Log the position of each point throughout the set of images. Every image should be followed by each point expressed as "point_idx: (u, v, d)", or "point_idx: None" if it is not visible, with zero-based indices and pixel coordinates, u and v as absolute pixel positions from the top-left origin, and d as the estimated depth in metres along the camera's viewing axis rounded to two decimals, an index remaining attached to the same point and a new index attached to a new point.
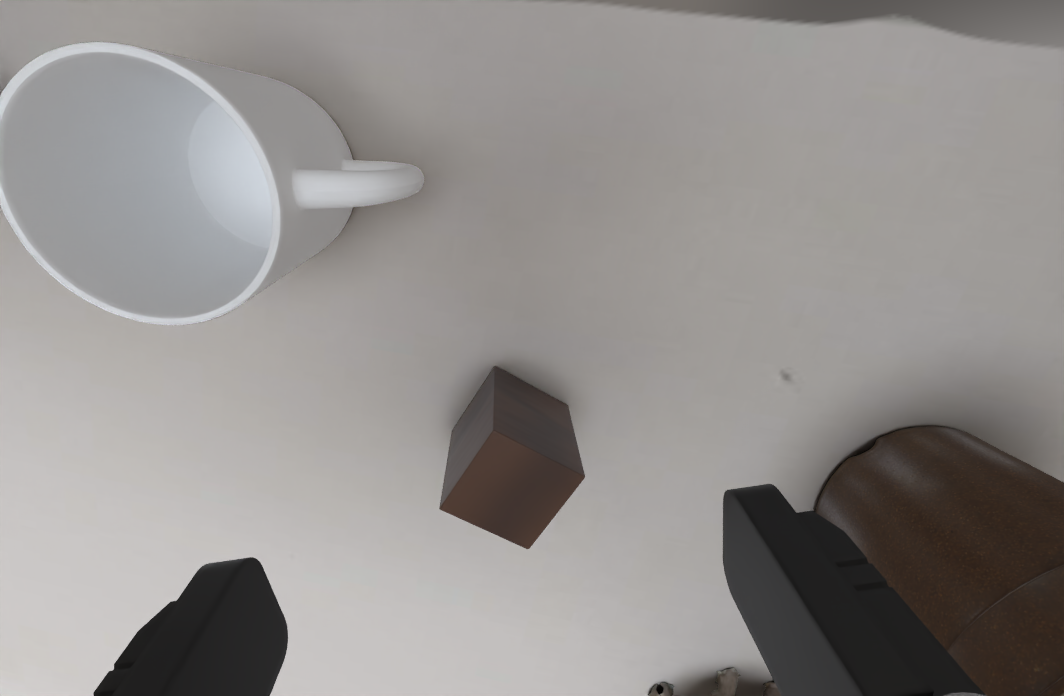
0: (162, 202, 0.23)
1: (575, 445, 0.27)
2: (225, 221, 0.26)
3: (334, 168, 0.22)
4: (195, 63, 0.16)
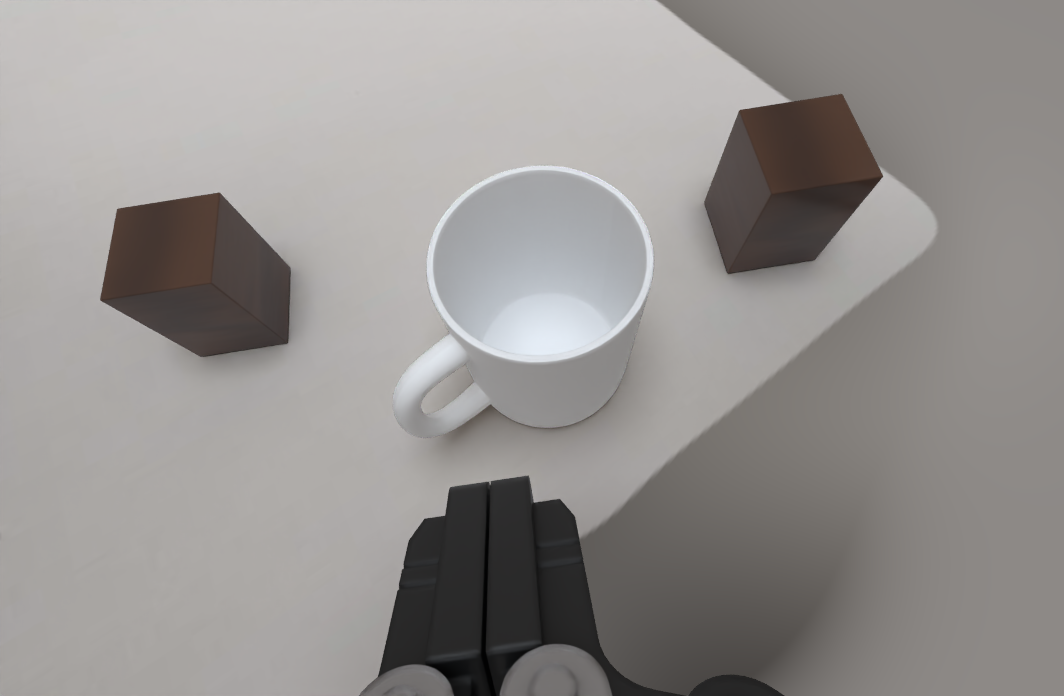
0: (587, 276, 0.27)
1: (145, 323, 0.26)
2: (555, 297, 0.30)
3: (482, 388, 0.24)
4: (573, 373, 0.19)
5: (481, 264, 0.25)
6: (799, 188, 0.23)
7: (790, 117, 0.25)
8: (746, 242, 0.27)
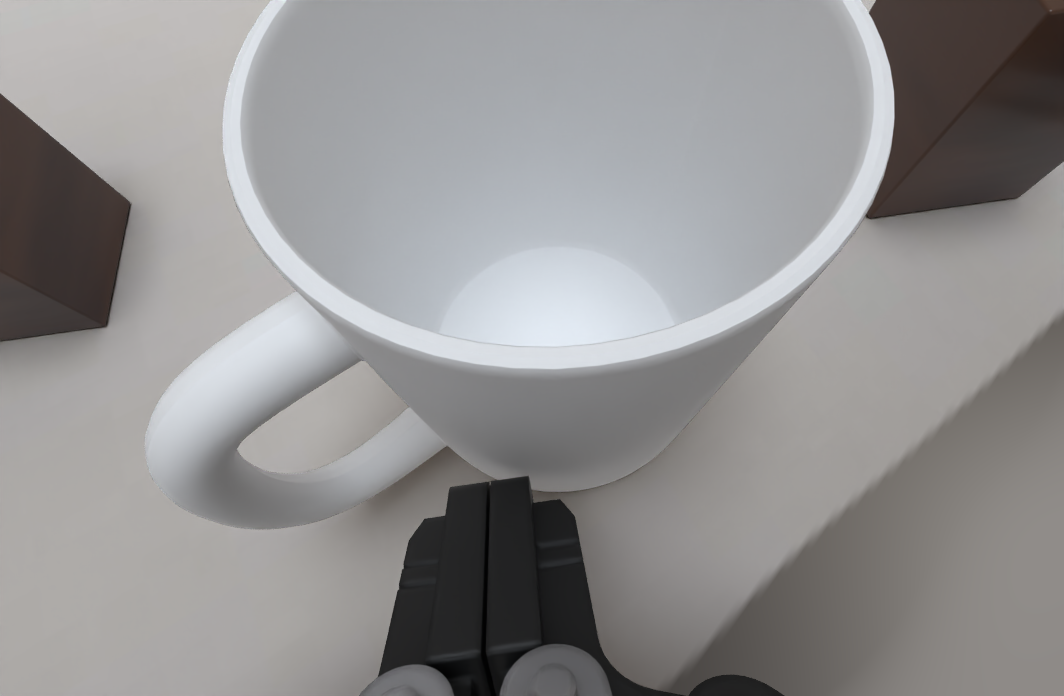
0: (634, 207, 0.14)
1: None
2: (570, 254, 0.17)
3: None
4: (642, 402, 0.07)
5: (426, 165, 0.12)
6: None
7: None
8: (932, 147, 0.14)
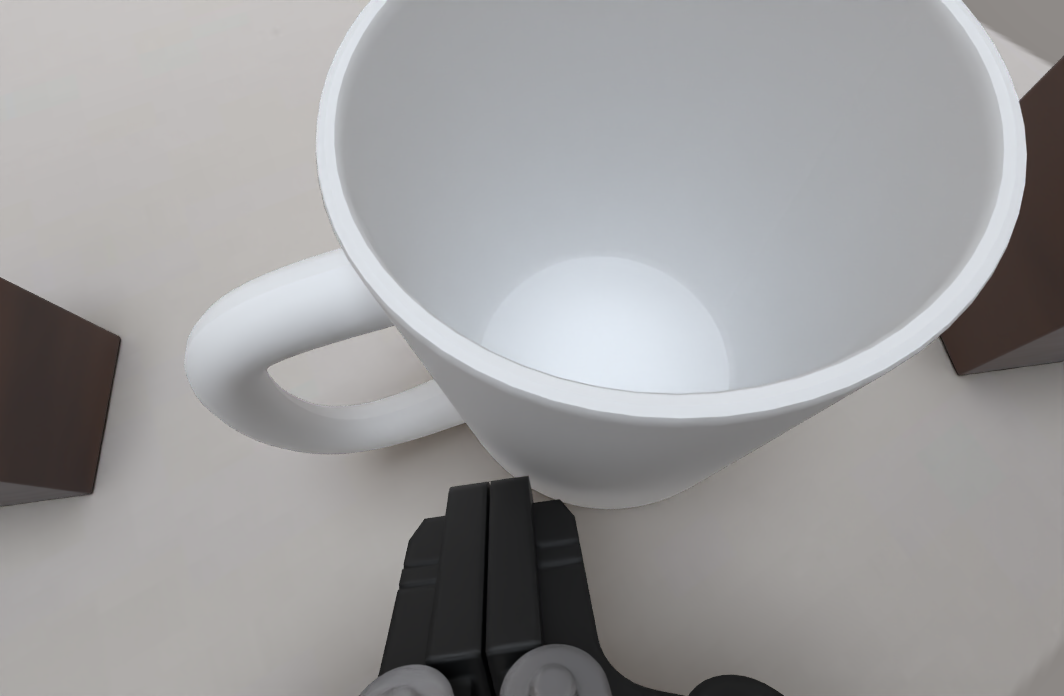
0: (722, 245, 0.14)
1: None
2: (646, 272, 0.17)
3: None
4: (642, 453, 0.06)
5: (524, 150, 0.12)
6: None
7: None
8: (1056, 330, 0.12)
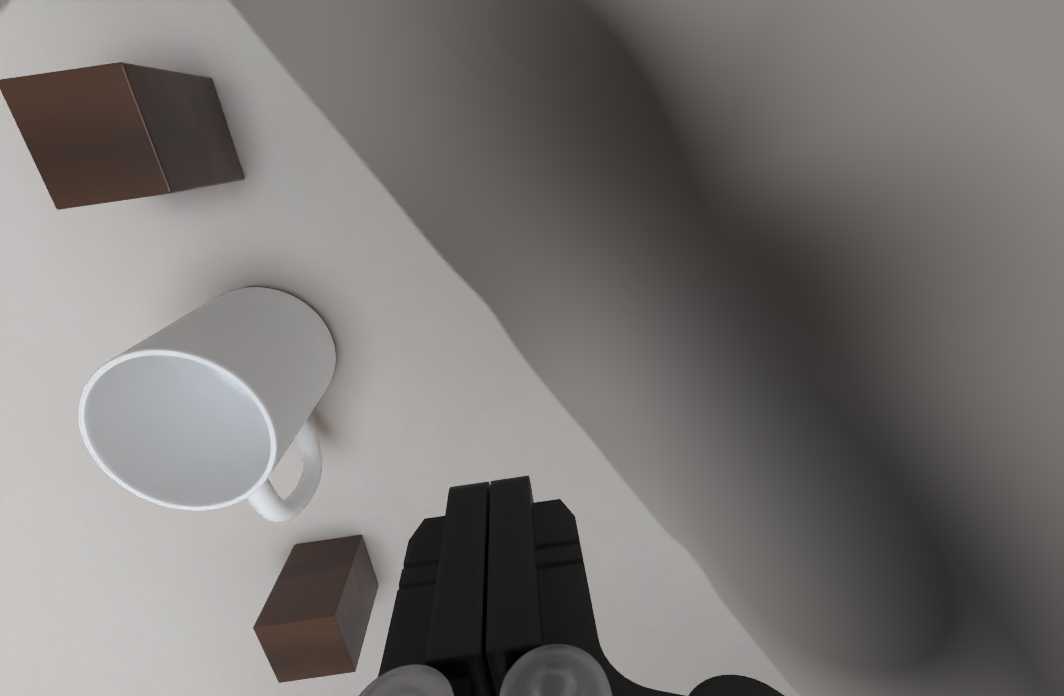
0: None
1: (364, 635, 0.36)
2: None
3: None
4: (288, 418, 0.25)
5: (173, 421, 0.28)
6: (159, 161, 0.22)
7: (54, 153, 0.22)
8: (215, 183, 0.26)
